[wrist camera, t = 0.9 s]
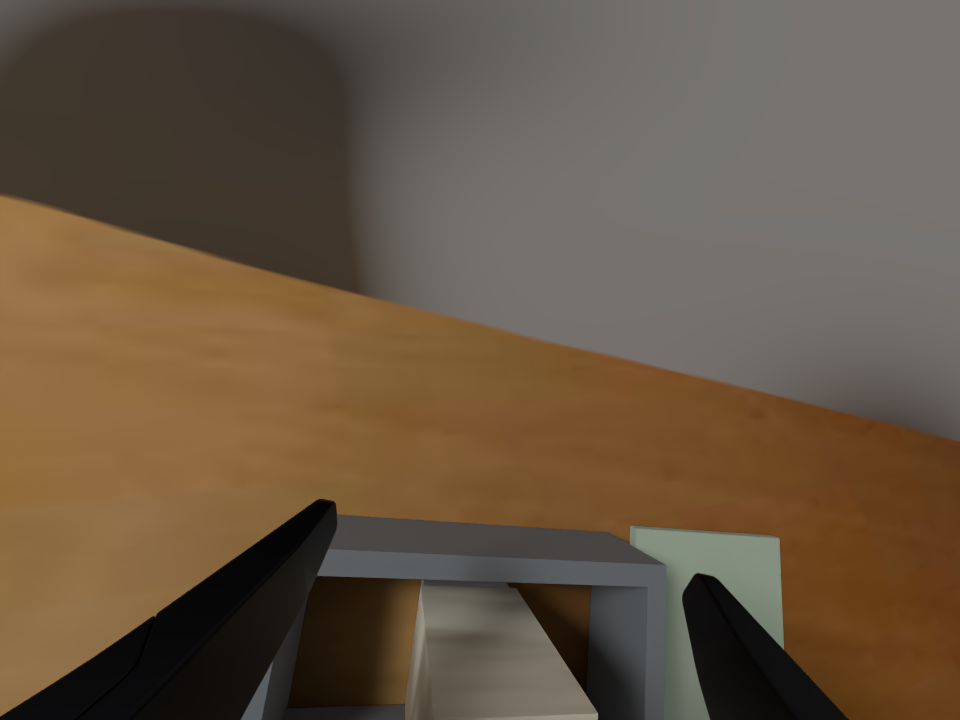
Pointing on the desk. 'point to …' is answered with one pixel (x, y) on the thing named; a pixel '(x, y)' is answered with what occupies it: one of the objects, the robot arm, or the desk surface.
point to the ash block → (487, 661)
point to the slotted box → (491, 563)
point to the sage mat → (738, 566)
